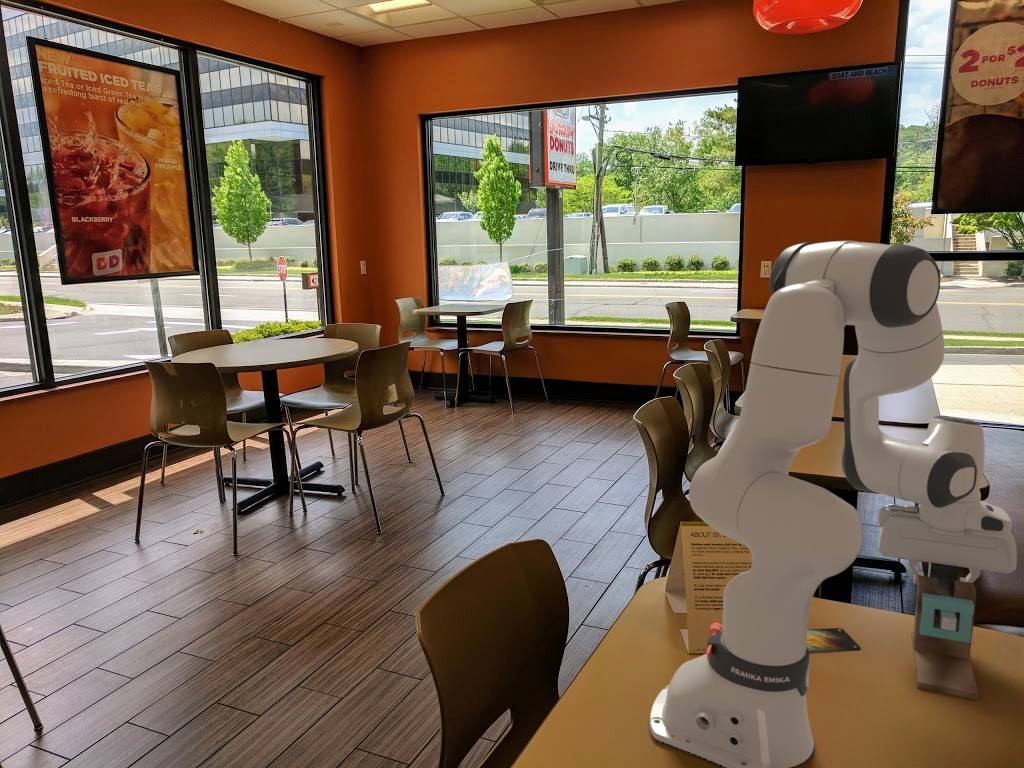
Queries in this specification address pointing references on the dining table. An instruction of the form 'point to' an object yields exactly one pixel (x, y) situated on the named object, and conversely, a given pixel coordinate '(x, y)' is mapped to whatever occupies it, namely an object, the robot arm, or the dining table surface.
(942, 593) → the shaft
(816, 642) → the smartphone
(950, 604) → the spacer
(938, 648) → the stand
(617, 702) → the dining table surface
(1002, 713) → the dining table surface
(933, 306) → the robot arm
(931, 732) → the dining table surface
